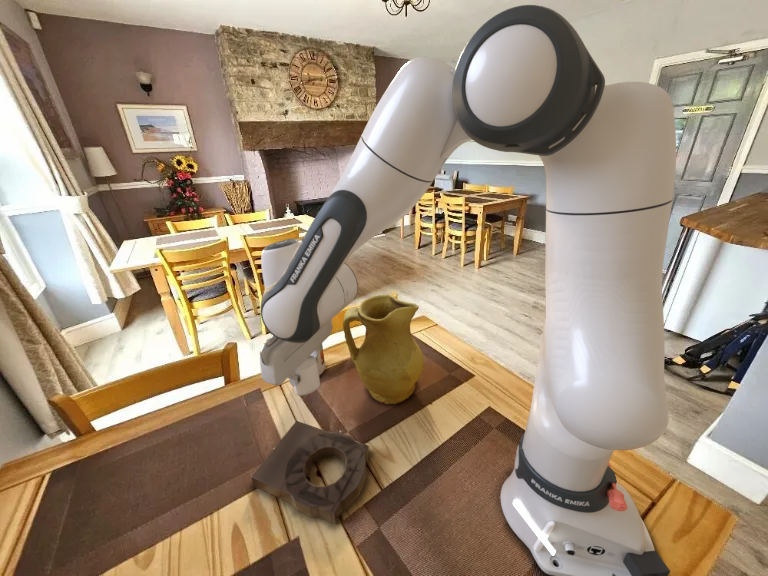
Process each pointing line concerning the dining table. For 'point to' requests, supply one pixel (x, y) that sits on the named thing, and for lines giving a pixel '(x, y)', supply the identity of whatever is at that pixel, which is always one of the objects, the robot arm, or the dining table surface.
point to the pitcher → (385, 348)
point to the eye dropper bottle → (307, 377)
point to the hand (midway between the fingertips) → (305, 373)
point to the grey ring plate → (295, 458)
